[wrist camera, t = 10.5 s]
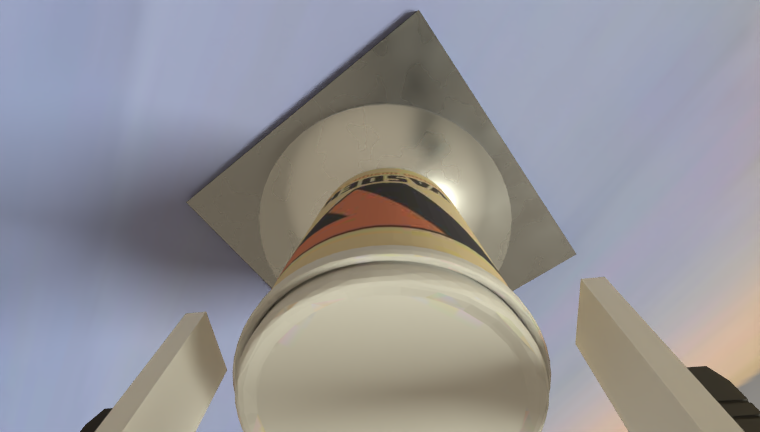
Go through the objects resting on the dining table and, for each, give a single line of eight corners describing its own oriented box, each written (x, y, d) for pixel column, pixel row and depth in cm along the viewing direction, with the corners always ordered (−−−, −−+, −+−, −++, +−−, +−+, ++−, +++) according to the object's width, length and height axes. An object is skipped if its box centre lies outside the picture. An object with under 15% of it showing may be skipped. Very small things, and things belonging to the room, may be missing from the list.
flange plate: (418, 11, 19) (419, 8, 18) (572, 250, 24) (581, 259, 23) (190, 199, 23) (180, 206, 22) (361, 373, 28) (360, 386, 27)
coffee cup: (470, 140, 20) (572, 248, 9) (475, 296, 24) (553, 511, 13) (289, 161, 21) (178, 286, 10) (320, 310, 24) (265, 528, 13)
